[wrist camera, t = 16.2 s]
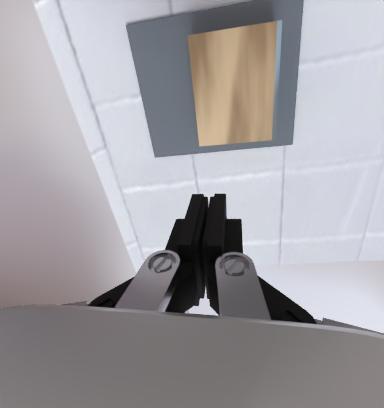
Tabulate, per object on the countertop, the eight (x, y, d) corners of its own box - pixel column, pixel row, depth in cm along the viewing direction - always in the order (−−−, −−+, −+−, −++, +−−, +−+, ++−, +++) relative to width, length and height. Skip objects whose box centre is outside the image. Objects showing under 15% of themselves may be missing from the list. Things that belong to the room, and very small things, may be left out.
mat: (302, -9, 22) (304, -10, 21) (291, 143, 29) (292, 144, 28) (127, 26, 24) (125, 25, 24) (155, 156, 31) (155, 157, 31)
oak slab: (192, 38, 24) (274, 25, 23) (201, 137, 29) (270, 131, 28) (187, 35, 21) (282, 20, 20) (199, 146, 26) (275, 139, 25)
